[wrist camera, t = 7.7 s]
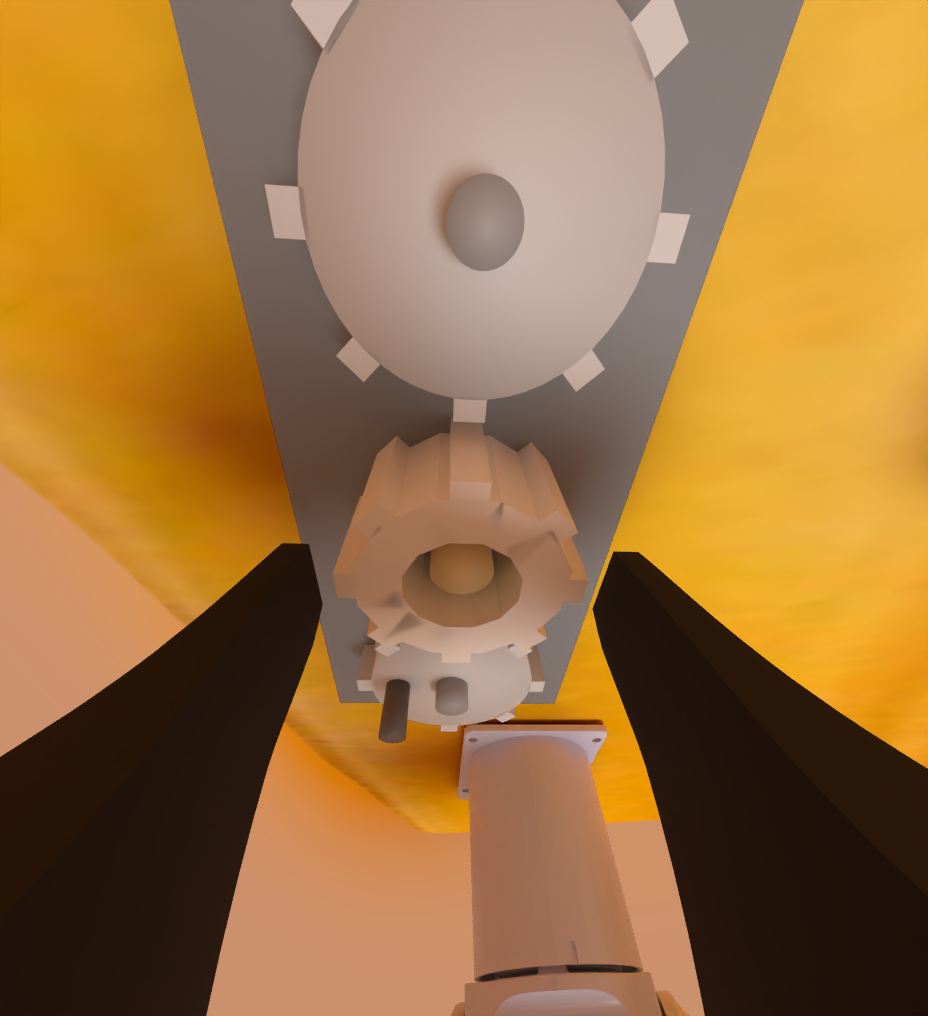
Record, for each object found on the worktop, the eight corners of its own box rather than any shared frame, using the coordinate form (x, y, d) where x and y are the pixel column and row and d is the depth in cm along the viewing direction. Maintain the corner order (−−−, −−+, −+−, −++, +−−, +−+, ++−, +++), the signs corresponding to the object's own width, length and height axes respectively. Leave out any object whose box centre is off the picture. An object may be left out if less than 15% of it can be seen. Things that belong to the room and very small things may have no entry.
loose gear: (539, 581, 14) (559, 664, 11) (369, 577, 13) (348, 661, 11) (577, 423, 10) (620, 488, 8) (351, 412, 10) (314, 475, 7)
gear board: (549, 679, 19) (572, 784, 16) (346, 678, 19) (319, 786, 15) (777, -36, 7) (1174, -369, 3) (181, -100, 6) (-219, -593, 3)
